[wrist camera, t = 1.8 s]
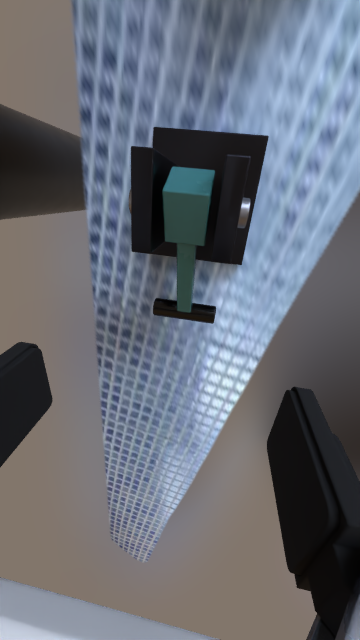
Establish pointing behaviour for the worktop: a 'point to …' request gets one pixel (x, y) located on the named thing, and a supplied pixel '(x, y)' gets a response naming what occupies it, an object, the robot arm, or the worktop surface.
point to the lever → (186, 237)
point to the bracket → (227, 199)
